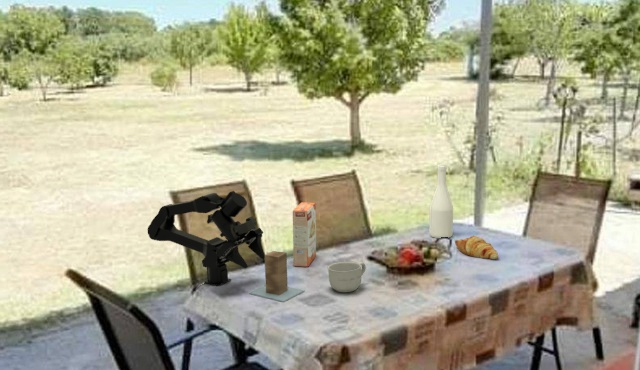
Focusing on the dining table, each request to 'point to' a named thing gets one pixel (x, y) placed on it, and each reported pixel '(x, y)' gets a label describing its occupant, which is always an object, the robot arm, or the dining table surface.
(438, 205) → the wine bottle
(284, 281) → the walnut block
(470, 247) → the croissant
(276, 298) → the slate mat
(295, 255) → the cracker box
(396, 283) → the dining table surface
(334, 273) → the teacup
